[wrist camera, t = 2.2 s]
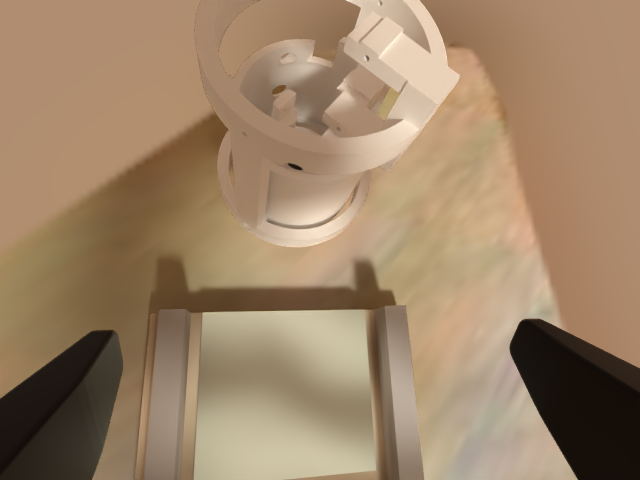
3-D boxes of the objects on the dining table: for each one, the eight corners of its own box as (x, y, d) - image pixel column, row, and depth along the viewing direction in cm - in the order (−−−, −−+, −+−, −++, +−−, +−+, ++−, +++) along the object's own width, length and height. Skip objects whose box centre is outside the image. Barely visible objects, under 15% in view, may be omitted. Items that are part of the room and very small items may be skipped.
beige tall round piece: (293, 296, 22) (375, 188, 8) (200, 223, 22) (117, -10, 8) (359, 211, 24) (512, 12, 10) (275, 146, 25) (310, -135, 10)
